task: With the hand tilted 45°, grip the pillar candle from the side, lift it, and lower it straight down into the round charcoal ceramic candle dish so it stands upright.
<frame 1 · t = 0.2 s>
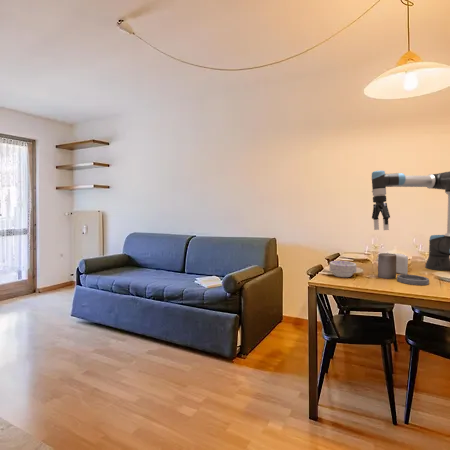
hand: (381, 229, 193), 27 cm above the table, tool pointing down, fingers open, 13 cm apart
paper bowls: (342, 276, 188), on the table
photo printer: (398, 273, 197), on the table
candle dish: (412, 281, 174), on the table
pillar candle: (386, 277, 185), on the table
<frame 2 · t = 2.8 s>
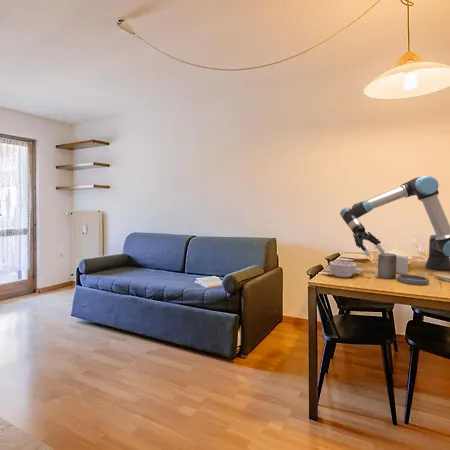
hand: (376, 253, 190), 13 cm above the table, tool tilted 45°, fingers open, 13 cm apart
nothing on the table moved.
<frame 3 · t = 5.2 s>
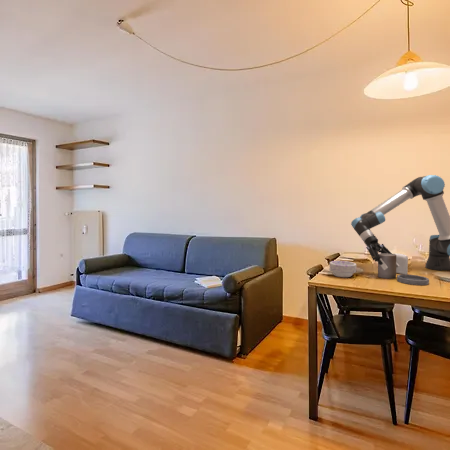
hand: (391, 268, 182), 6 cm above the table, tool tilted 45°, fingers closed on pillar candle, 9 cm apart
pillar candle: (386, 277, 185), on the table, touching gripper
everything else where it was.
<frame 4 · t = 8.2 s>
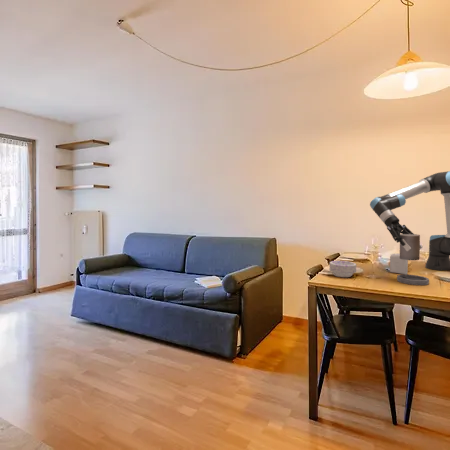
hand: (415, 249, 171), 19 cm above the table, tool tilted 45°, fingers closed on pillar candle, 9 cm apart
pillar candle: (408, 259, 174), point 12 cm above the table, touching gripper
everything else where it was.
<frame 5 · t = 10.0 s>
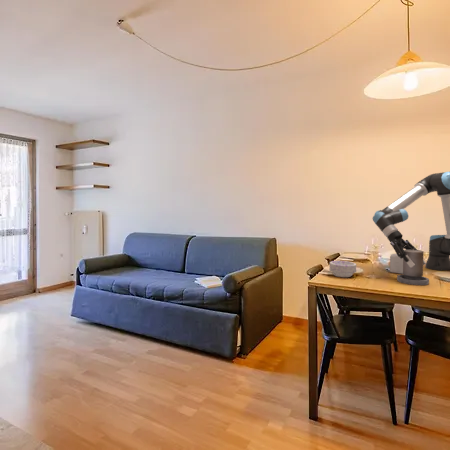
hand: (418, 265, 170), 10 cm above the table, tool tilted 45°, fingers closed on pillar candle, 9 cm apart
pillar candle: (412, 275, 173), point 4 cm above the table, touching gripper
everything else where it was.
when the fingers open (8 cm above the table, at t = 11.3 s): pillar candle drops 1 cm, resting on candle dish.
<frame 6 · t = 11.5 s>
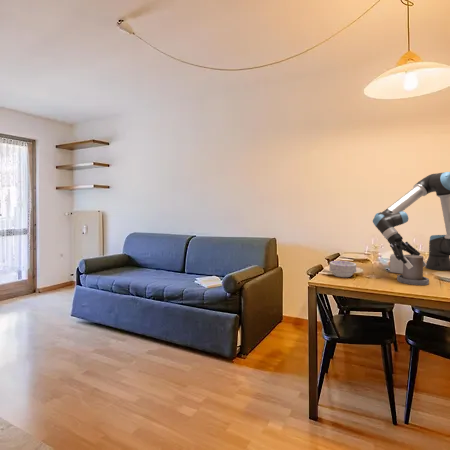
hand: (417, 267, 171), 9 cm above the table, tool tilted 45°, fingers open, 12 cm apart
pillar candle: (412, 280, 174), point 1 cm above the table, touching candle dish
everything else where it was.
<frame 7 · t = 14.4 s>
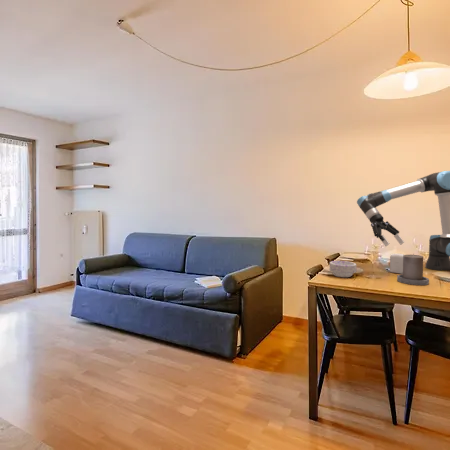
hand: (395, 244, 184), 20 cm above the table, tool tilted 40°, fingers open, 13 cm apart
nothing on the table moved.
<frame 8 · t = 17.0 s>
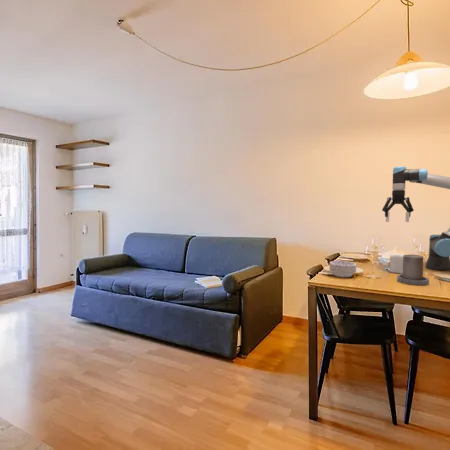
hand: (397, 221, 208), 32 cm above the table, tool pointing down, fingers open, 13 cm apart
nothing on the table moved.
at the end: pillar candle 0.3 cm off-centre on the candle dish, point 0.8 cm above the candle dish's base; pillar candle tilted 0°; the gripper is holding nothing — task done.
